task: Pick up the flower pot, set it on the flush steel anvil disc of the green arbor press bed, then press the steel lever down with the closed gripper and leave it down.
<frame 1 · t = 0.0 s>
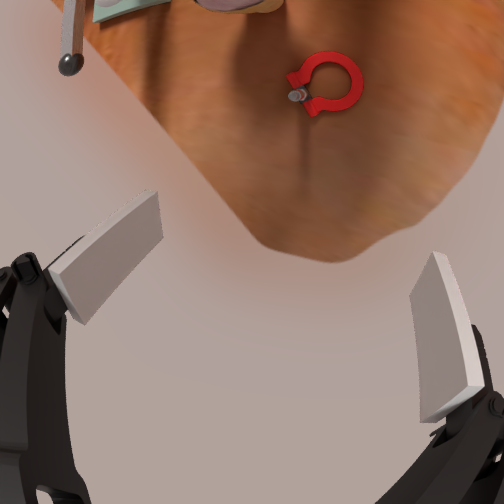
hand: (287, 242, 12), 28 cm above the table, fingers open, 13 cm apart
lever: (73, 17, 16), point 17 cm above the table, hinge at 0.0°
tow hook: (328, 82, 30), on the table
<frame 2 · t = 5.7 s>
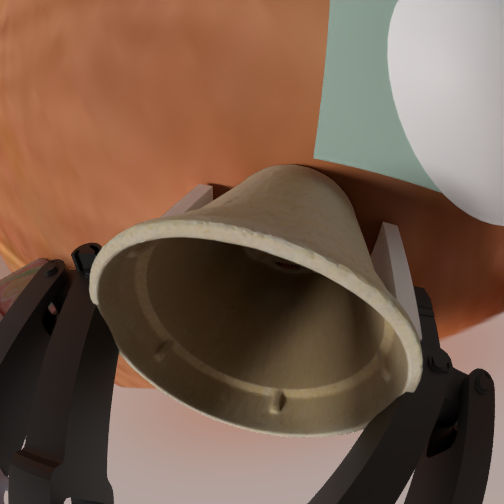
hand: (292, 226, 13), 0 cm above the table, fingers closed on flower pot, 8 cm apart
flower pot: (295, 221, 14), on the table, touching gripper
press: (495, 36, 5), on the table
potted plant: (65, 294, 28), on the table
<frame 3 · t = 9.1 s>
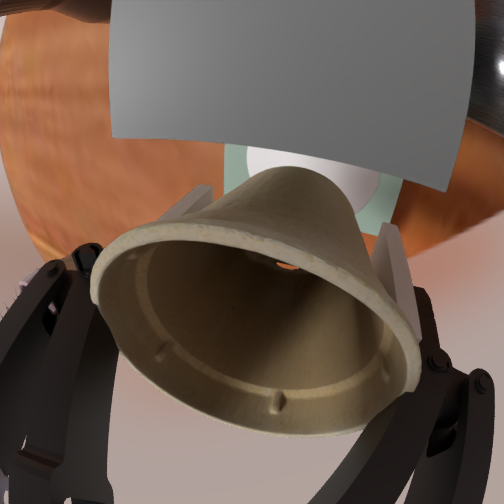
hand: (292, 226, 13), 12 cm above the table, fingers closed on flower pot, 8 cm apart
flower pot: (295, 222, 14), point 11 cm above the table, touching gripper
press: (319, 125, 20), on the table
potted plant: (96, 274, 44), on the table
when the fingers open (3 cm above the table, at t = 12.3 s): flower pot moves 3 cm, resting on press.
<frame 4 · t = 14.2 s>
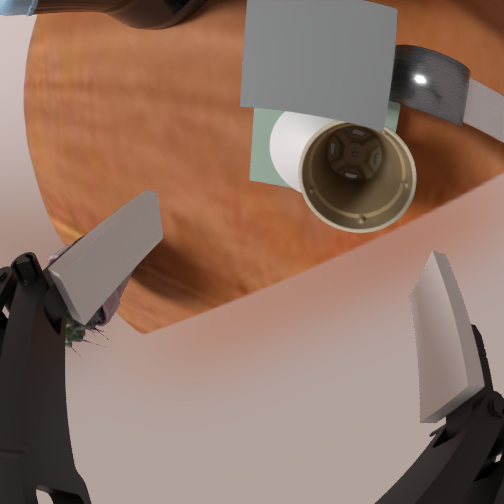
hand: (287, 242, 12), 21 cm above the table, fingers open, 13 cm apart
flower pot: (355, 152, 26), point 2 cm above the table, touching press
press: (325, 121, 27), on the table
potted plant: (120, 254, 50), on the table
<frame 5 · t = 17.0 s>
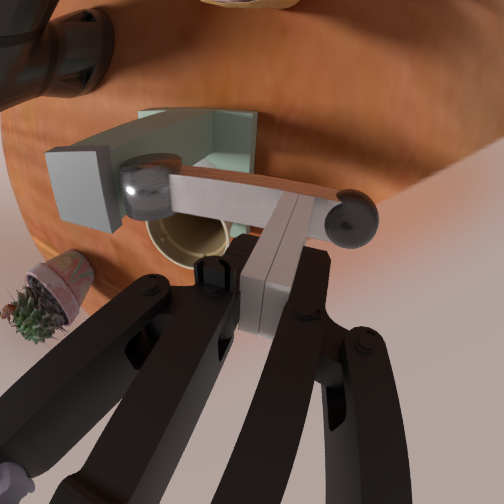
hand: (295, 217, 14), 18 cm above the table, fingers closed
flower pot: (218, 195, 33), point 2 cm above the table, touching press
press: (197, 168, 34), on the table
lever: (239, 197, 15), point 17 cm above the table, hinge at 1.3°, touching gripper
potted plant: (83, 268, 57), on the table
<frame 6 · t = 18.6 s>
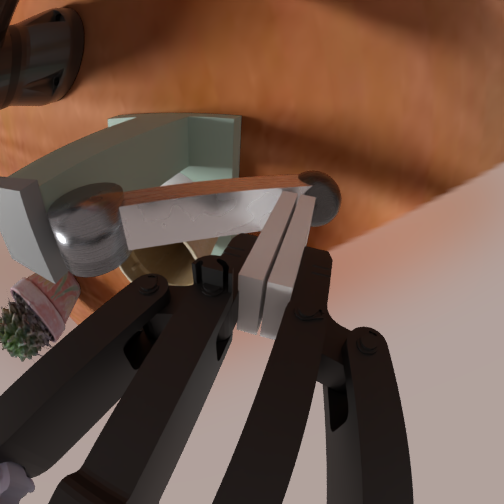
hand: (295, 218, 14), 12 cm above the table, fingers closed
flower pot: (198, 214, 29), point 2 cm above the table, touching press
press: (175, 182, 29), on the table
lever: (203, 209, 13), point 14 cm above the table, hinge at 35.1°, touching gripper
potted plant: (69, 281, 53), on the table
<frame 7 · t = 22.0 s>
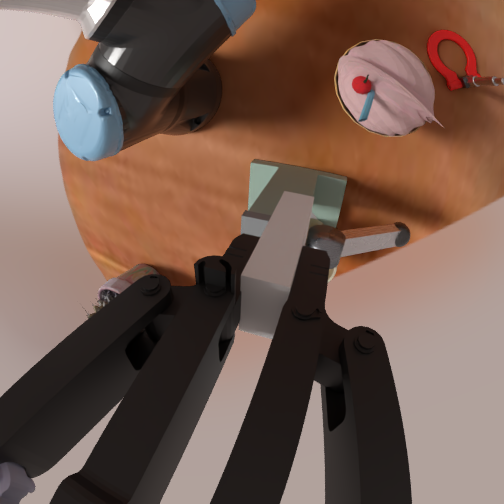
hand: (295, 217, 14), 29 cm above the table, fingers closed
press: (293, 210, 46), on the table
lever: (364, 240, 30), point 14 cm above the table, hinge at 35.1°
tow hook: (451, 58, 23), on the table
ice cream cone: (372, 86, 31), on the table
potted plant: (151, 280, 70), on the table
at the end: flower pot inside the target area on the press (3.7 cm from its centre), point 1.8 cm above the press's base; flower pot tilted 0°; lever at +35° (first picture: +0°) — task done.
